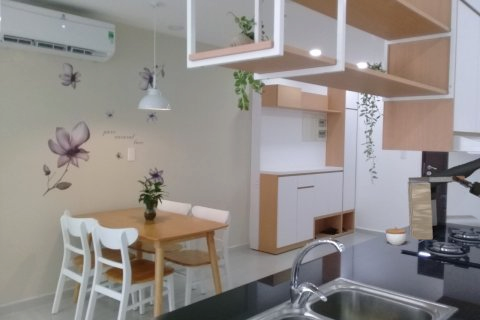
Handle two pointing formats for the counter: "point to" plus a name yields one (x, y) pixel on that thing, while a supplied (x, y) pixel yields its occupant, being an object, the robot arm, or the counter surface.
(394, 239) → the lidded jar
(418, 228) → the birch stand
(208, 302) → the counter surface
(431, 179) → the breaker handle
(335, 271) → the counter surface
